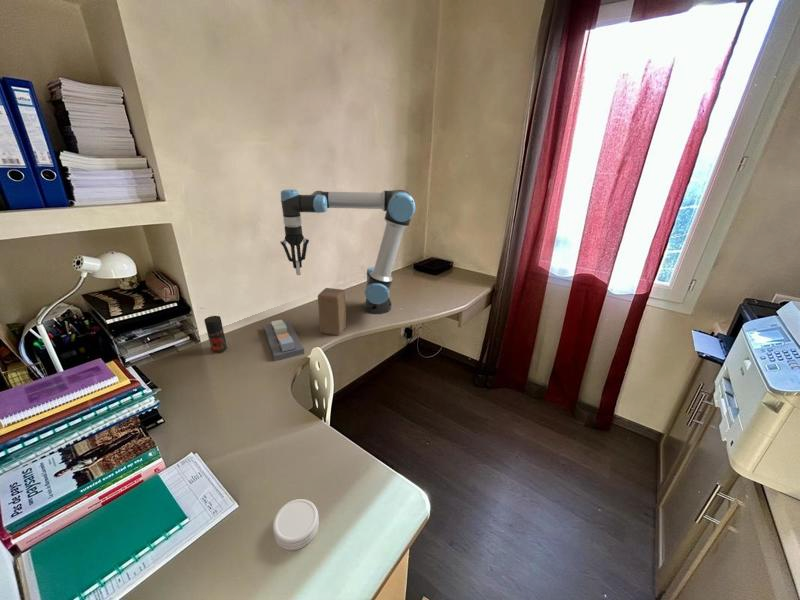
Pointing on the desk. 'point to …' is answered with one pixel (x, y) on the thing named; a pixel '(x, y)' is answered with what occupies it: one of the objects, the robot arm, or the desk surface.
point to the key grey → (276, 323)
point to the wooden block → (332, 311)
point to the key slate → (286, 343)
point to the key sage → (280, 328)
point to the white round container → (296, 524)
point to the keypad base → (276, 347)
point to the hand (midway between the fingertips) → (298, 274)
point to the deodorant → (215, 334)
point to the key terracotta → (282, 336)
